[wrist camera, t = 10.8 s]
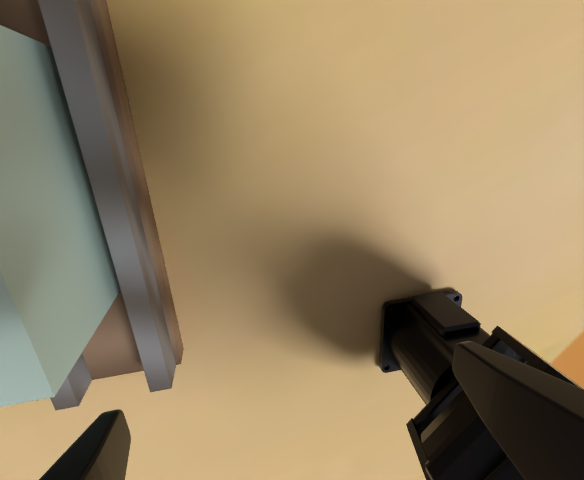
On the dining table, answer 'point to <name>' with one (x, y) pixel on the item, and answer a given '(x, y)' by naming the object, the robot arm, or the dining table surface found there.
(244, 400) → the dining table surface
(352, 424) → the dining table surface
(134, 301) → the track base
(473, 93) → the dining table surface
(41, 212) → the door panel
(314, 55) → the dining table surface
